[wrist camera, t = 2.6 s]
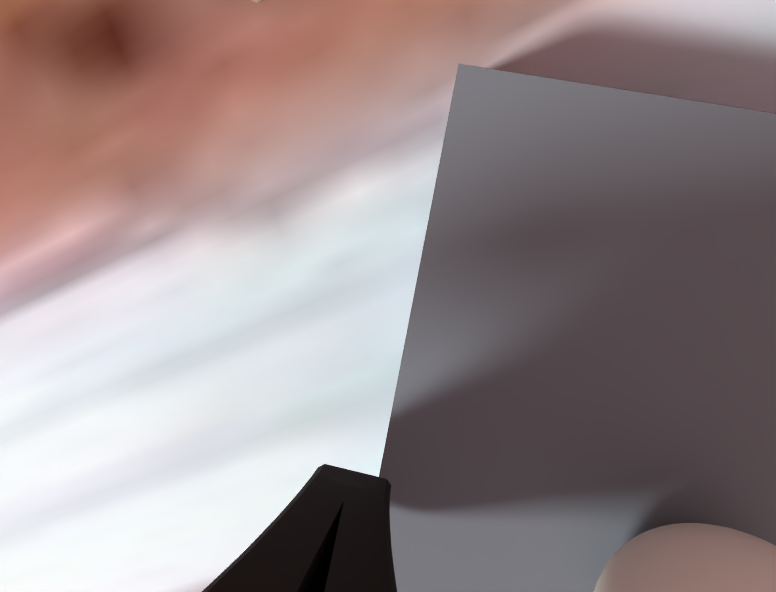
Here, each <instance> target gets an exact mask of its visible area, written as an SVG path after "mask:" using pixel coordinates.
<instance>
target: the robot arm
mask: <svg viewBox="0 0 776 592" xmlns="http://www.w3.org/2000/svg"><path fill="white" fill-rule="evenodd" d="M390 492H391V484H390V483H389V481H388V480H387V479H384V478H380V477H376V476H372V475H368V474H364V473H360V472H356V471H351V470H347V469H343V468H339V467H335V466H331V465H327V464H324V465H322V466H320V467H318V468H317V470H316V471H315V473H314V474H313V475H312V477H311V478H310V479H309V480H308V482H307V483H306V484H305V485H304V487H303V488H302V489H301V490H300V492H299V493H298V494H297V495H296V496H295V498H294V499H293V500H292V501H291V502H290V503H289V504H288V506H287V507H286V508H285V509H284V510H283V511H282V512H281V513H280V515H279V516H278V517H277V518H276V519H275V520H274V521H273V522H272V523H271V524H270V525H269V526H268V527H267V528H266V529H265V530H264V531H263V533H262V534H261V535H260V536H259V537H258V538H257V539H256V540H255V541H254V542H253V543H252V544H251V545H250V546H249V547H248V548H247V549H246V550H245V551H244V552H243V553H242V554H241V555H240V556H239V557H238V558H237V559H236V560H235V561H234V562H233V563H232V564H231V565H230V566H229V567H228V568H227V569H225V570H224V571H223V572H222V573H221V574H220V575H219V576H218V577H217V578H216V579H215V580H214V581H213V582H212V583H211V584H210V585H209V586H208V587H206V588H205V589H204V590H203V591H202V592H397V586H396V579H395V572H394V565H393V556H392V547H391V533H390Z"/></svg>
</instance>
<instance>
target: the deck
mask: <svg viewBox="0 0 776 592" xmlns="http://www.w3.org/2000/svg"><path fill="white" fill-rule="evenodd" d="M379 477H380V478H384V479H387V480H388V481H389V483H390V484H391V492H390V533H391V547H392V556H393V565H394V572H395V579H396V586H397V592H594V590H595V587H596V584H597V581H598V579H599V577H600V575H601V573H602V571H603V570H604V568H605V566H606V564H607V562H608V561H609V560H610V559H611V557H612V556H613V555H614V554H615V553H616V552H617V551H618V550H619V549H620V548H621V547H622V546H623V545H624V544H625V543H627V542H628V541H630V540H631V539H632V538H634V537H636V536H638V535H639V534H641V533H644V532H646V531H648V530H651V529H654V528H657V527H660V526H665V525H670V524H678V523H703V524H711V525H718V526H723V527H728V528H732V529H735V530H739V531H742V532H745V533H747V534H750V535H753V536H756V537H758V538H760V539H763V540H765V541H767V542H769V543H771V544H773V545H775V546H776V113H770V112H764V111H757V110H751V109H744V108H738V107H732V106H725V105H719V104H712V103H706V102H700V101H693V100H687V99H680V98H674V97H668V96H661V95H655V94H648V93H642V92H636V91H629V90H623V89H616V88H610V87H604V86H597V85H591V84H584V83H578V82H572V81H565V80H559V79H553V78H546V77H540V76H533V75H527V74H521V73H514V72H508V71H501V70H495V69H489V68H482V67H476V66H469V65H463V64H459V65H458V70H457V76H456V81H455V86H454V91H453V96H452V101H451V107H450V112H449V117H448V122H447V127H446V133H445V138H444V143H443V148H442V153H441V158H440V164H439V169H438V174H437V179H436V184H435V189H434V195H433V200H432V205H431V210H430V215H429V221H428V226H427V231H426V236H425V241H424V246H423V252H422V257H421V262H420V267H419V272H418V278H417V283H416V288H415V293H414V298H413V303H412V309H411V314H410V319H409V324H408V329H407V335H406V340H405V345H404V350H403V355H402V360H401V366H400V371H399V376H398V381H397V386H396V391H395V397H394V402H393V407H392V412H391V417H390V423H389V428H388V433H387V438H386V443H385V448H384V454H383V459H382V464H381V469H380V474H379Z"/></svg>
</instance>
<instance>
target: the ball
mask: <svg viewBox="0 0 776 592" xmlns="http://www.w3.org/2000/svg"><path fill="white" fill-rule="evenodd" d="M594 592H776V546H775V545H773V544H771V543H769V542H767V541H765V540H763V539H760V538H758V537H756V536H753V535H750V534H747V533H745V532H742V531H739V530H735V529H732V528H728V527H723V526H718V525H711V524H703V523H678V524H670V525H665V526H660V527H657V528H654V529H651V530H648V531H646V532H644V533H641V534H639V535H638V536H636V537H634V538H632V539H631V540H630V541H628V542H627V543H625V544H624V545H623V546H622V547H621V548H620V549H619V550H618V551H617V552H616V553H615V554H614V555H613V556H612V557H611V559H610V560H609V561H608V562H607V564H606V566H605V568H604V570H603V571H602V573H601V575H600V577H599V579H598V581H597V584H596V587H595V590H594Z"/></svg>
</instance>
